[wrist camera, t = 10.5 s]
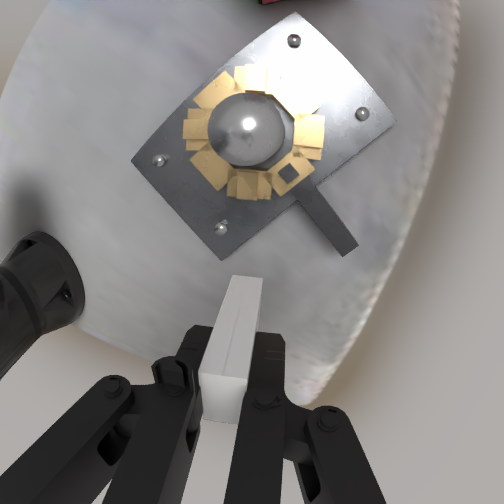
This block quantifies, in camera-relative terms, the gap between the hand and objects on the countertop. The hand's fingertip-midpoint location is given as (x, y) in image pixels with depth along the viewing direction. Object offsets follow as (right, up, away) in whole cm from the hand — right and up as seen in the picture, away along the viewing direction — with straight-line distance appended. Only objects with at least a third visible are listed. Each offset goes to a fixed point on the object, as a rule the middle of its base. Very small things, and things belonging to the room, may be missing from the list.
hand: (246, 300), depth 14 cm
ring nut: (+3, +10, +10) cm, 14 cm away
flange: (+1, +14, +11) cm, 17 cm away
